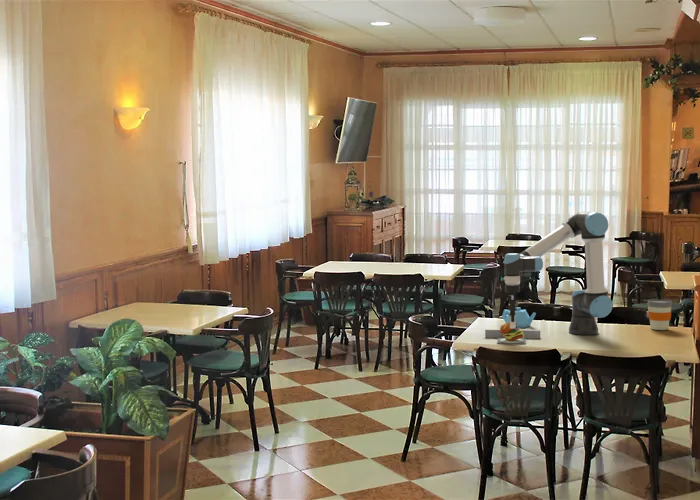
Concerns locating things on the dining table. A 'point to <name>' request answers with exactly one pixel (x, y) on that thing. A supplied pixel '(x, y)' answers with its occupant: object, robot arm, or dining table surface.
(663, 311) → the reusable coffee cup
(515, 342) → the mat
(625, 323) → the dining table surface
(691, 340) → the dining table surface
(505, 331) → the cheeseburger
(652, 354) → the dining table surface
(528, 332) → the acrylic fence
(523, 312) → the teapot
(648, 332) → the dining table surface
